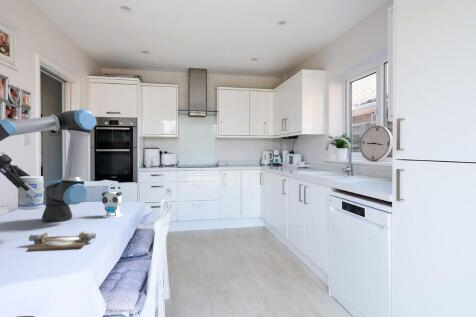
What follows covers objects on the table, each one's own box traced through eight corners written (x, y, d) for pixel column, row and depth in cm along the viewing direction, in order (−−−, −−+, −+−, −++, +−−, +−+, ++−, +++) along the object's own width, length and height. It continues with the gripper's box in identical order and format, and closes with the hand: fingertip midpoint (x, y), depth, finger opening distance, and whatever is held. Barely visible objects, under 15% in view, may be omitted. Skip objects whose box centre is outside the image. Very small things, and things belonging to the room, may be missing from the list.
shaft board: (40, 239, 130) (39, 229, 130) (100, 236, 134) (100, 227, 134) (19, 251, 114) (19, 240, 114) (88, 248, 119) (88, 237, 118)
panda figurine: (97, 217, 173) (97, 192, 173) (109, 213, 184) (109, 190, 184) (115, 218, 171) (115, 193, 171) (126, 214, 182) (126, 191, 182)
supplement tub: (27, 211, 125) (27, 178, 124) (12, 209, 128) (12, 177, 127) (48, 207, 134) (48, 176, 134) (33, 205, 137) (33, 175, 137)
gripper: (1, 163, 136) (40, 195, 141) (-24, 166, 115) (23, 203, 121) (14, 153, 137) (52, 184, 143) (-8, 153, 116) (37, 190, 122)
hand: (38, 193), depth 132 cm, fingers closed on supplement tub, 10 cm apart
